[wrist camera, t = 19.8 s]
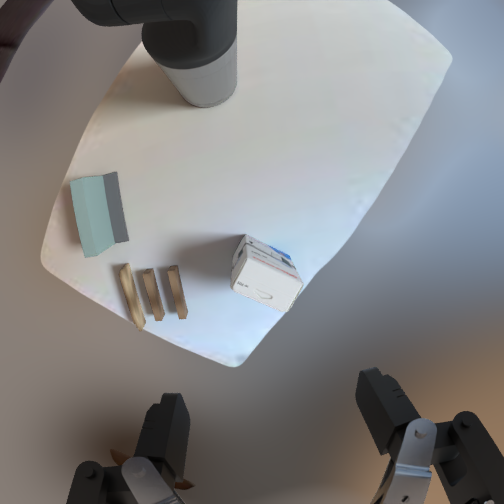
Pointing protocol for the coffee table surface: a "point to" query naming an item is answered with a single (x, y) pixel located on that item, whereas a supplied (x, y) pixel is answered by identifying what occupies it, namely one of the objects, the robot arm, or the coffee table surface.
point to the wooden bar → (132, 297)
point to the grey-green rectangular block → (92, 215)
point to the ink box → (265, 274)
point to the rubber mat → (115, 207)
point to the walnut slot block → (155, 296)
